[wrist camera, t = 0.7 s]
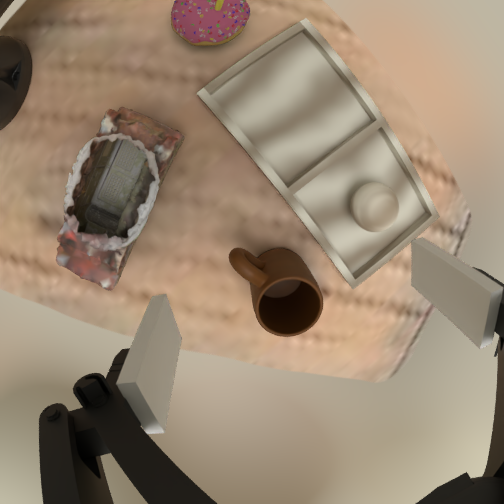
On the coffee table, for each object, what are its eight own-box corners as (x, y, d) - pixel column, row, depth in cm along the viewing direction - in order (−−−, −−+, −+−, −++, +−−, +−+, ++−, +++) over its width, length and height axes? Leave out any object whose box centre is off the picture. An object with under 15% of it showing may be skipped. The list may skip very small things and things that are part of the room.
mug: (210, 255, 41) (205, 287, 32) (251, 211, 39) (257, 231, 30) (278, 310, 44) (289, 349, 35) (317, 271, 42) (338, 303, 34)
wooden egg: (334, 198, 39) (351, 207, 33) (370, 170, 38) (391, 175, 32) (359, 234, 40) (378, 248, 35) (393, 207, 39) (415, 217, 34)
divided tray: (198, 96, 34) (196, 93, 32) (301, 24, 32) (306, 18, 30) (347, 281, 43) (353, 289, 41) (430, 212, 41) (439, 216, 38)
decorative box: (225, 160, 37) (224, 164, 28) (143, 287, 42) (123, 324, 33) (137, 104, 34) (109, 92, 25) (66, 236, 39) (30, 260, 29)
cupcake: (258, 12, 31) (268, -34, 20) (228, 66, 33) (227, 33, 22) (195, -9, 30) (184, -57, 18) (164, 44, 32) (139, 7, 20)
